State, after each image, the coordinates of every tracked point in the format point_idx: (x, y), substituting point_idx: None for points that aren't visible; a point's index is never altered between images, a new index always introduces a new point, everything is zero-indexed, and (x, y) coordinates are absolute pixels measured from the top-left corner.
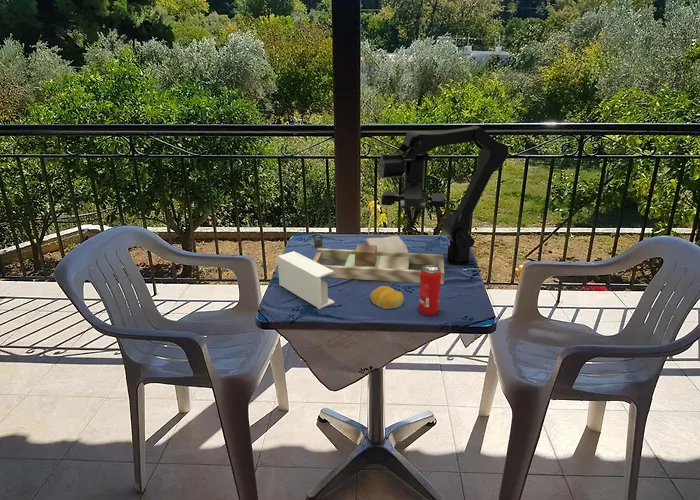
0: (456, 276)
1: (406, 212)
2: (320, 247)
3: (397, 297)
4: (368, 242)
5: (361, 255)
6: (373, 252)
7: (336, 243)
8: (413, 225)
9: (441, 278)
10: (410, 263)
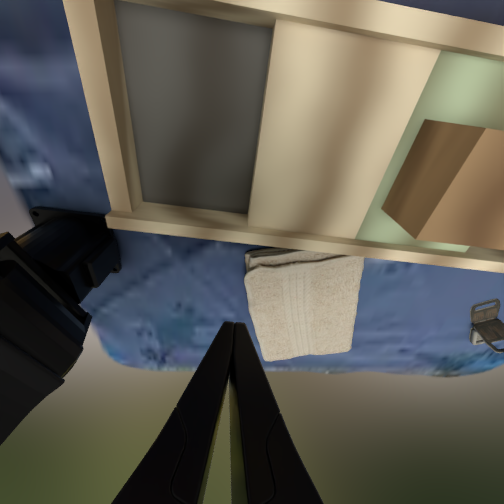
0: (49, 92)
1: (317, 499)
2: (481, 318)
3: None
4: (351, 333)
5: None
6: (492, 134)
7: (423, 338)
8: (223, 329)
9: None
10: (242, 214)
